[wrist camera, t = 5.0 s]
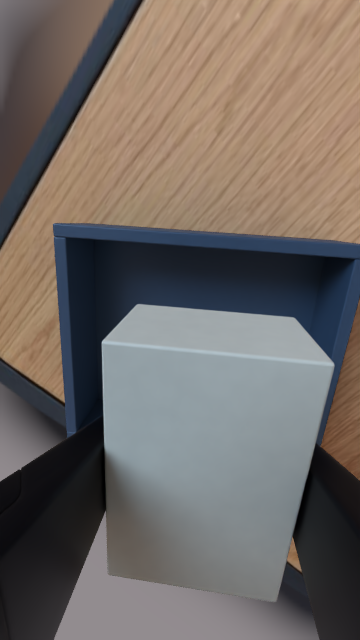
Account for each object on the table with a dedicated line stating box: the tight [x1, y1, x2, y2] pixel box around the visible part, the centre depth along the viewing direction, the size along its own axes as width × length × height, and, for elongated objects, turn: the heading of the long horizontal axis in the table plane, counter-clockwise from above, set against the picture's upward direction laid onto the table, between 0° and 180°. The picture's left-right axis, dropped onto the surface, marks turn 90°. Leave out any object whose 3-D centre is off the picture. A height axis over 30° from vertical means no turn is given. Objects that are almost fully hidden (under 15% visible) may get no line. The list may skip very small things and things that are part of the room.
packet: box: [102, 304, 334, 602], centre depth 8 cm, size 7×5×3 cm, turn 177°
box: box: [53, 223, 360, 447], centre depth 17 cm, size 12×14×4 cm
